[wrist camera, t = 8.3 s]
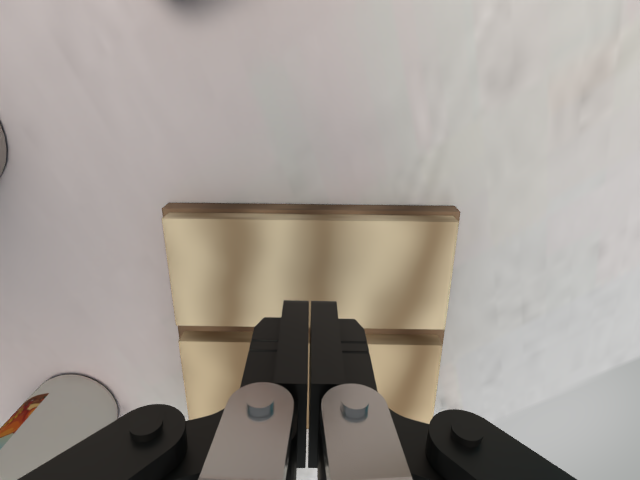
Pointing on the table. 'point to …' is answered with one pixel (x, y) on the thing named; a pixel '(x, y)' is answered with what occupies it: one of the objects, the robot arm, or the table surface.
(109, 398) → the milk bottle
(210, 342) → the floor board
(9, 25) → the table surface
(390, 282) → the oak plank
